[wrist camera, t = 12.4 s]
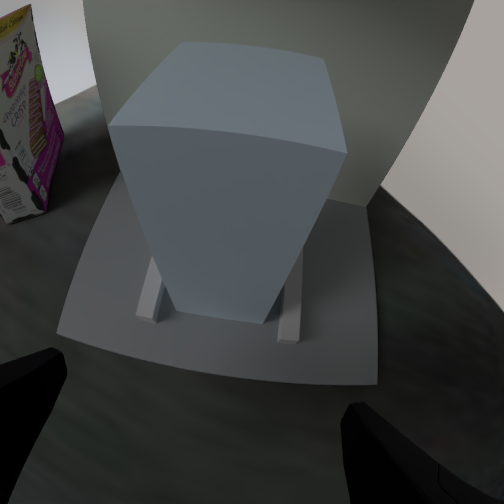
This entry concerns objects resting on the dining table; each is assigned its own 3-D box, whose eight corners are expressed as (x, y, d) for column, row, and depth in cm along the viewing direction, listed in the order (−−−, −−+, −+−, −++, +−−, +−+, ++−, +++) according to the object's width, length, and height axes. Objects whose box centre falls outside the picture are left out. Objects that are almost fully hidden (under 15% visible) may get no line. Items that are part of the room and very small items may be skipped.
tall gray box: (262, 323, 16) (347, 153, 5) (176, 311, 16) (107, 125, 5) (270, 242, 19) (323, 58, 8) (194, 231, 19) (182, 41, 8)
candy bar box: (50, 213, 19) (-33, 37, 4) (7, 227, 18) (-81, 79, 3) (68, 133, 24) (32, 0, 9) (31, 147, 23) (-12, 24, 8)
